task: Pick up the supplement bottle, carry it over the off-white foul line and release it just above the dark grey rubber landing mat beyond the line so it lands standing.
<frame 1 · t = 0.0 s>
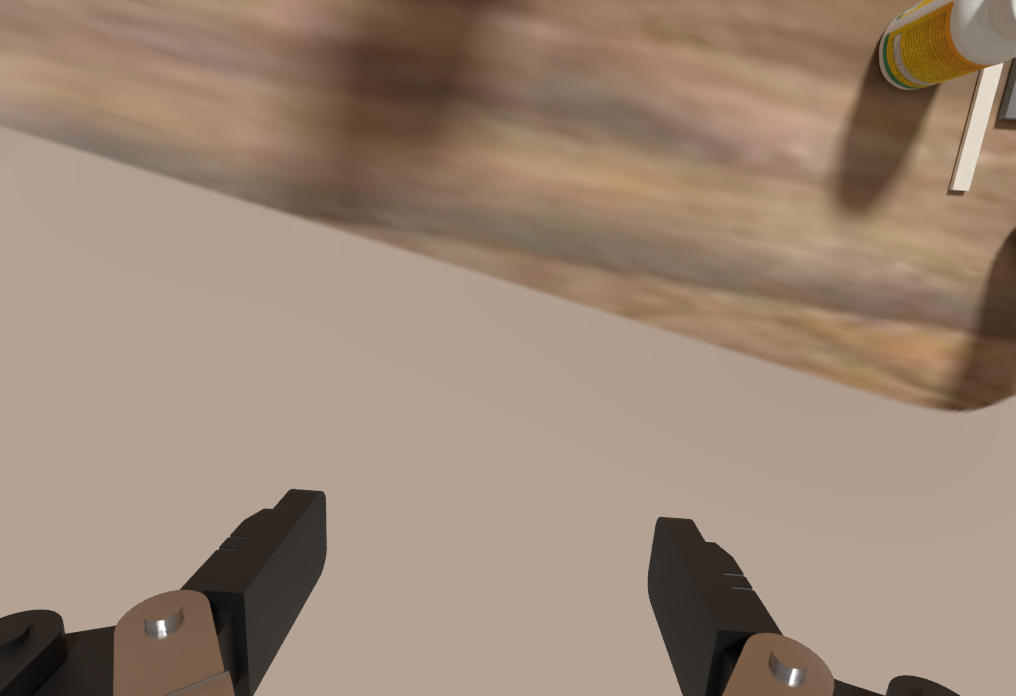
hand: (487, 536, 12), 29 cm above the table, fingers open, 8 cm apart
supplement bottle: (911, 51, 36), on the table
foul line: (997, 40, 35), on the table
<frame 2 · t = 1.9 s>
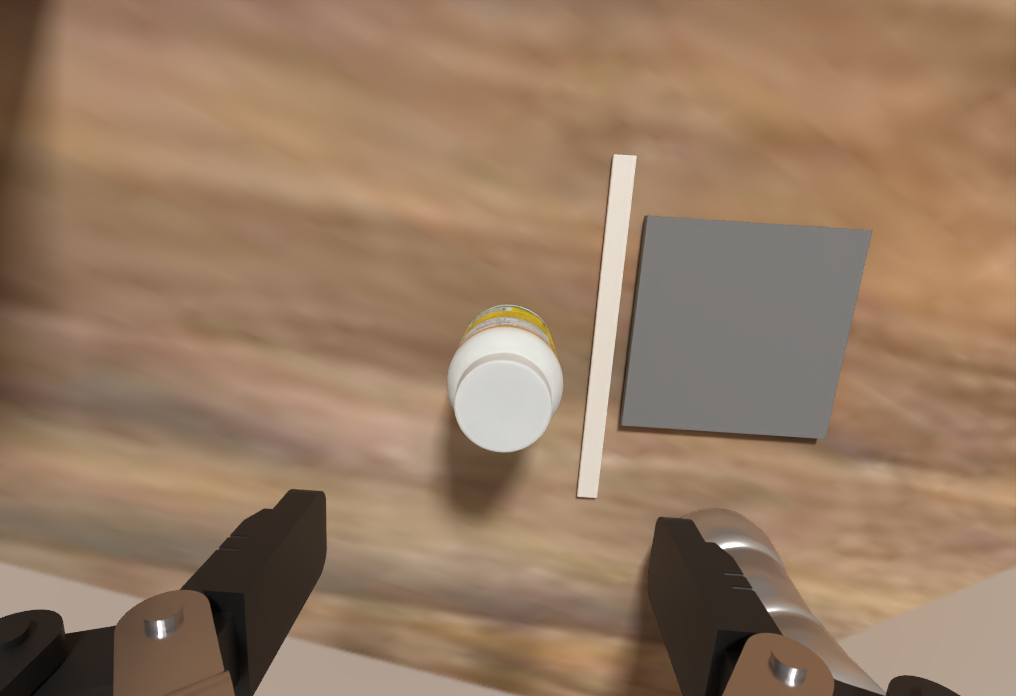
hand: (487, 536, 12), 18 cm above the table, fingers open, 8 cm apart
supplement bottle: (507, 348, 30), on the table
plastic bottle: (701, 538, 33), on the table
foul line: (603, 338, 30), on the table
landing mat: (736, 330, 29), on the table
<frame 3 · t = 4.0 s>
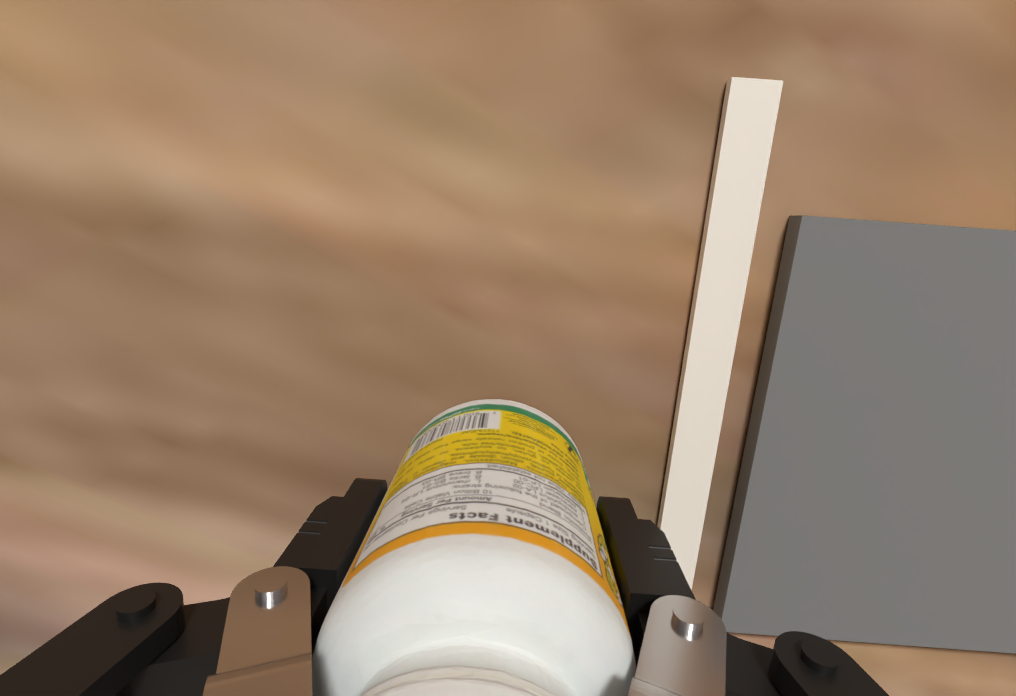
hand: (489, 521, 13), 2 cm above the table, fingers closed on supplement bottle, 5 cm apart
supplement bottle: (494, 478, 15), on the table, touching gripper
foul line: (688, 464, 15), on the table
landing mat: (960, 451, 14), on the table
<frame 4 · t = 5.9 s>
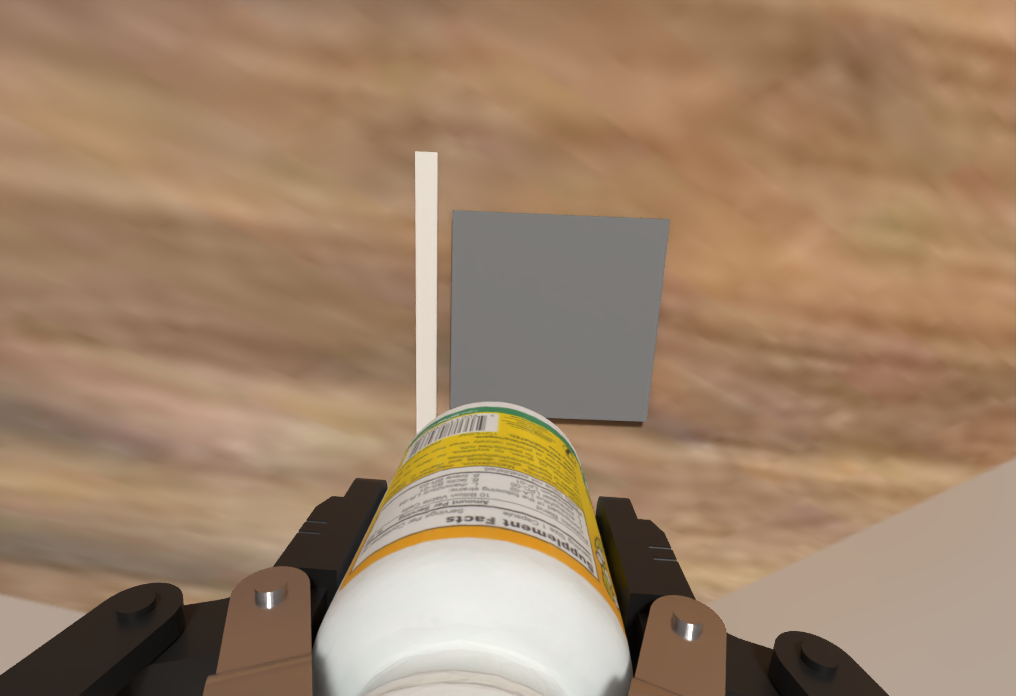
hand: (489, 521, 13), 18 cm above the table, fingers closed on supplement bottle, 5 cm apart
supplement bottle: (492, 480, 15), point 16 cm above the table, touching gripper
foul line: (427, 330, 31), on the table
landing mat: (553, 319, 30), on the table
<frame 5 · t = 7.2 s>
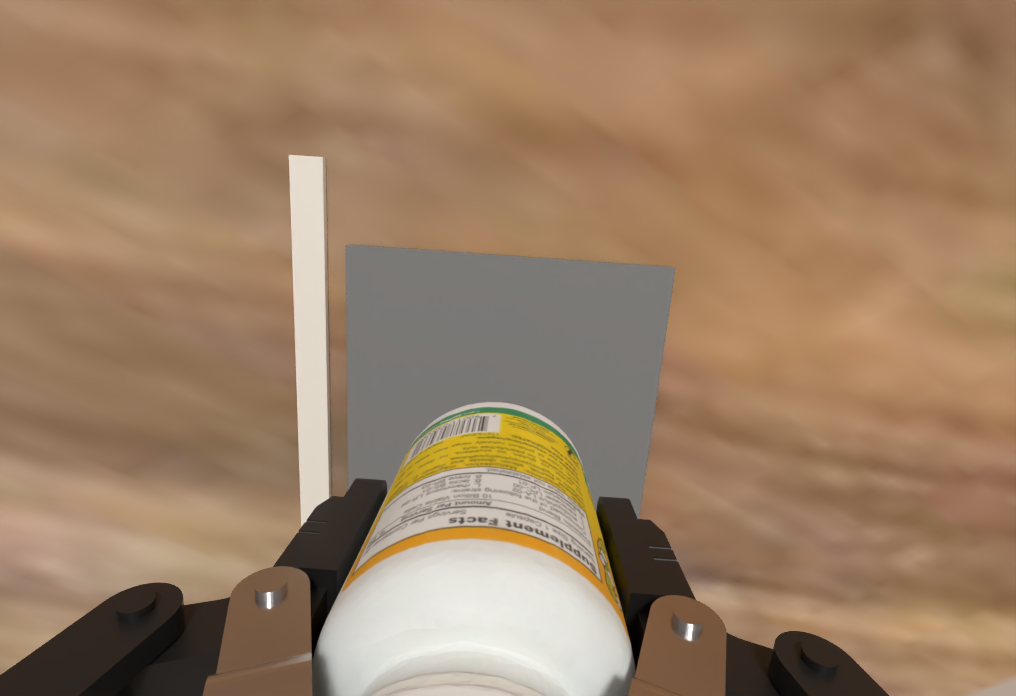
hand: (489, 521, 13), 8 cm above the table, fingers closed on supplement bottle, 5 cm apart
supplement bottle: (494, 481, 15), point 6 cm above the table, touching gripper
foul line: (315, 416, 21), on the table
landing mat: (500, 406, 21), on the table
when the fingers open (4 cm above the table, at t = 8.1 s): supplement bottle drops 1 cm, resting on landing mat.
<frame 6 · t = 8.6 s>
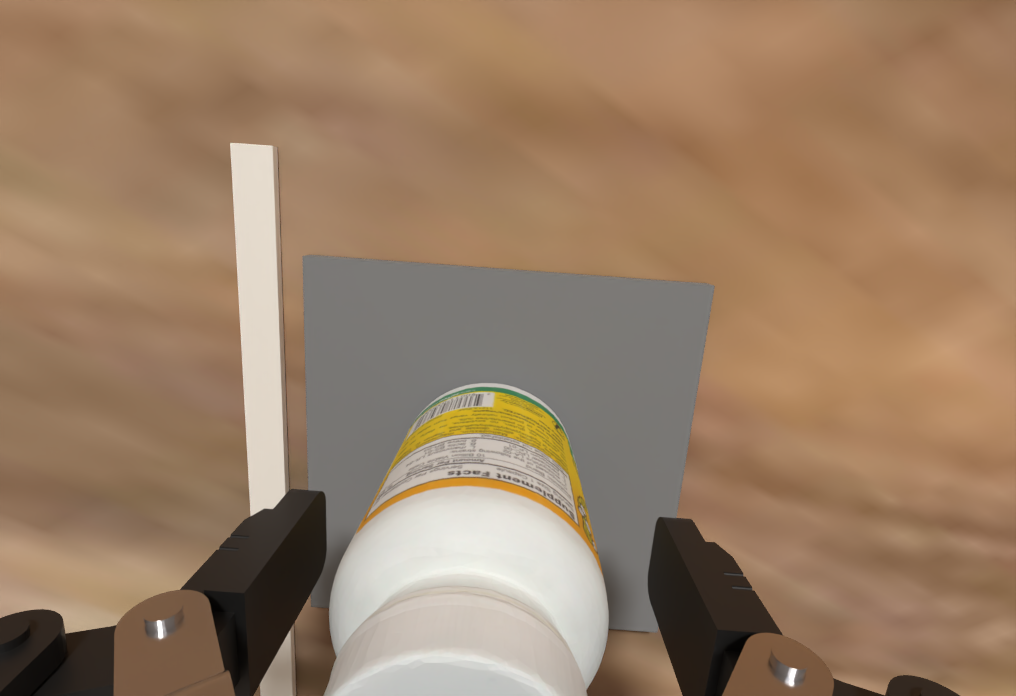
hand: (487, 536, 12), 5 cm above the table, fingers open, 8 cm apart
supplement bottle: (489, 457, 16), resting on landing mat
foul line: (270, 463, 17), on the table
landing mat: (495, 452, 17), on the table
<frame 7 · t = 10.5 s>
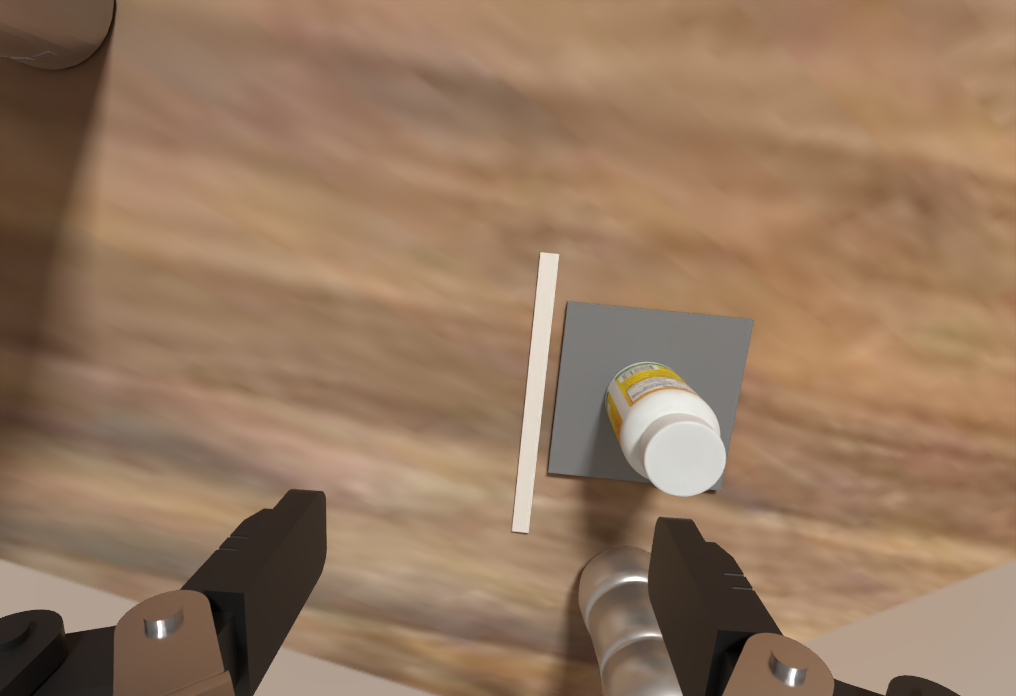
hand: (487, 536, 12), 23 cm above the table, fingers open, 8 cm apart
supplement bottle: (643, 398, 35), resting on landing mat
plastic bottle: (620, 571, 38), on the table
foul line: (534, 399, 35), on the table
landing mat: (644, 396, 35), on the table
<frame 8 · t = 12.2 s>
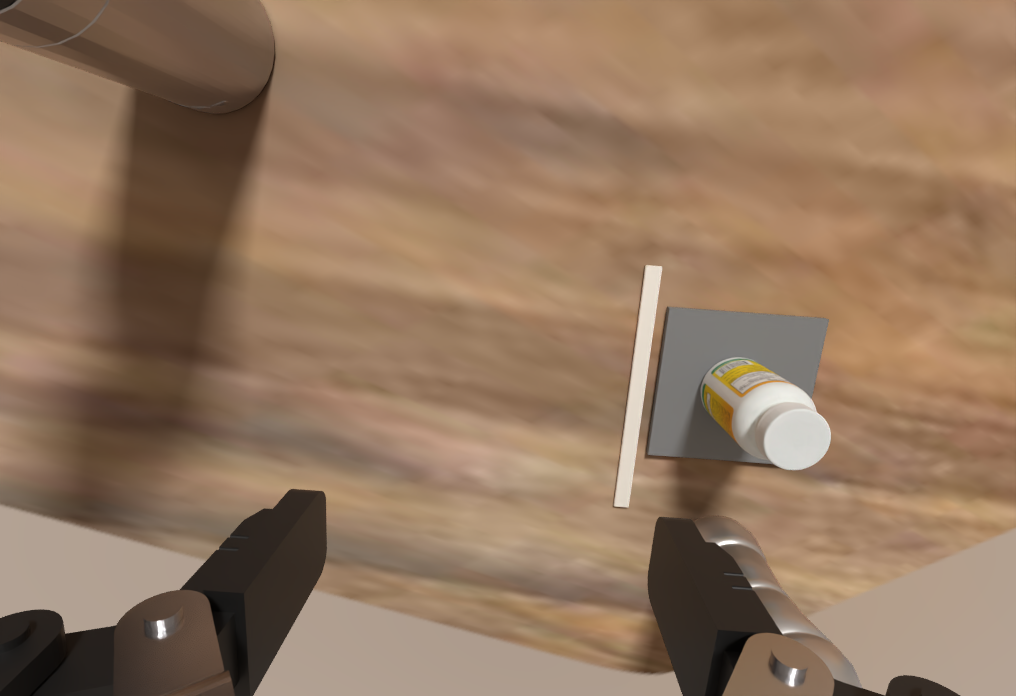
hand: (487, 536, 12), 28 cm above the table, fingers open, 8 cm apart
supplement bottle: (731, 388, 40), resting on landing mat
plastic bottle: (706, 537, 44), on the table
foul line: (635, 392, 41), on the table
landing mat: (732, 387, 41), on the table
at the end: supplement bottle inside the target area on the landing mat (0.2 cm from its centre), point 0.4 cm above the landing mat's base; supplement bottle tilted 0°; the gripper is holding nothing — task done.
